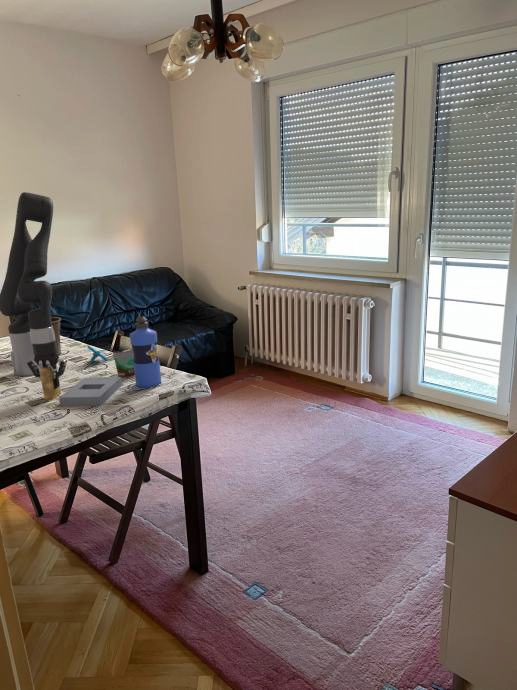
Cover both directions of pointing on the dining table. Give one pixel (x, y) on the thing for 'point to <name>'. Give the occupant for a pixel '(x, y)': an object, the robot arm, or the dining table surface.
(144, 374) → the water bottle
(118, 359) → the food container
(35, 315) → the robot arm
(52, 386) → the keyed peg
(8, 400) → the dining table surface
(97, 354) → the gear
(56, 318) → the plant pot
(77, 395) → the keyed plate
